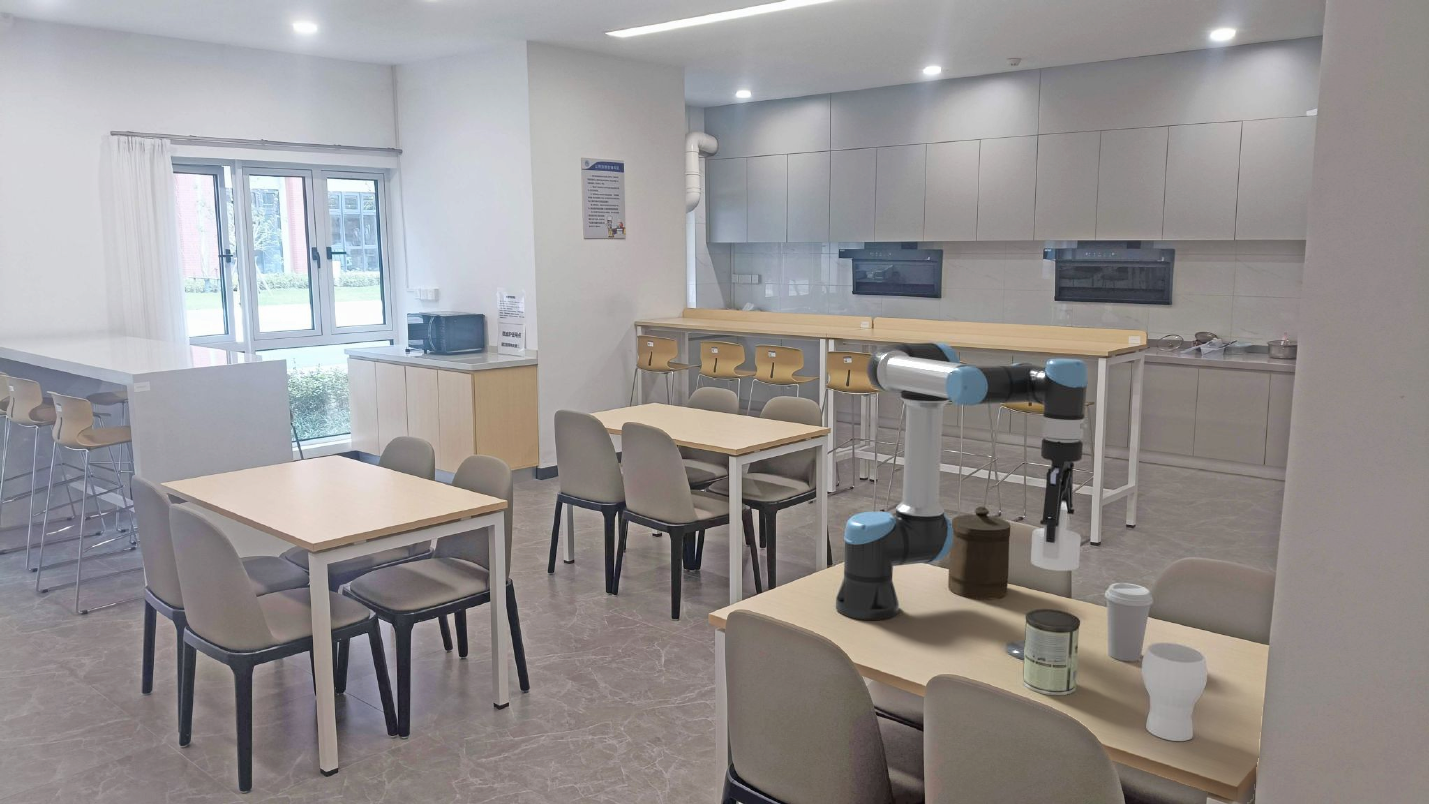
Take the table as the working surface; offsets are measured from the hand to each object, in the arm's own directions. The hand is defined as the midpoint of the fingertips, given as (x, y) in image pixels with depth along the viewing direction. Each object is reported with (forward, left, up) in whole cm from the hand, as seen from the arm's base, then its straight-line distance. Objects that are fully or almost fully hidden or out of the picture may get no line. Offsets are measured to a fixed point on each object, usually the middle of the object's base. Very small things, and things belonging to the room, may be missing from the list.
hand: (1055, 551), depth 192 cm
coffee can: (0, 0, -28) cm, 28 cm away
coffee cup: (+11, +24, -28) cm, 39 cm away
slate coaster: (-7, +15, -28) cm, 32 cm away
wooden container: (-28, +50, -28) cm, 64 cm away
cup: (+23, -9, -28) cm, 37 cm away
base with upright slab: (0, 0, -3) cm, 3 cm away
